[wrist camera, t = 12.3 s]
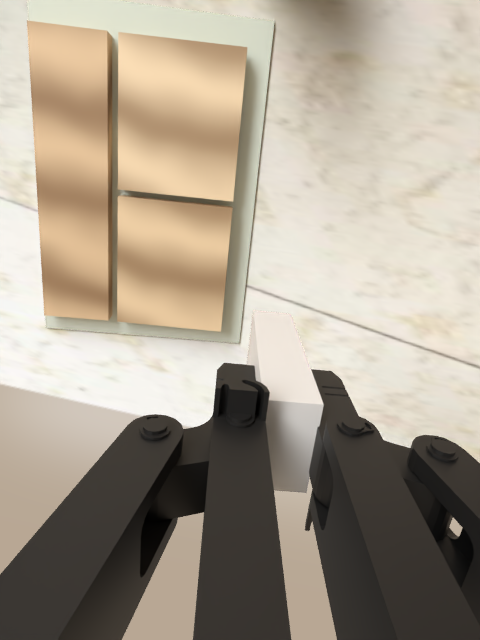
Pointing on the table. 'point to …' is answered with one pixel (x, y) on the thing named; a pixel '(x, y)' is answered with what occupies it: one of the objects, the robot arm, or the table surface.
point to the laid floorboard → (73, 166)
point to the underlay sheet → (256, 34)
